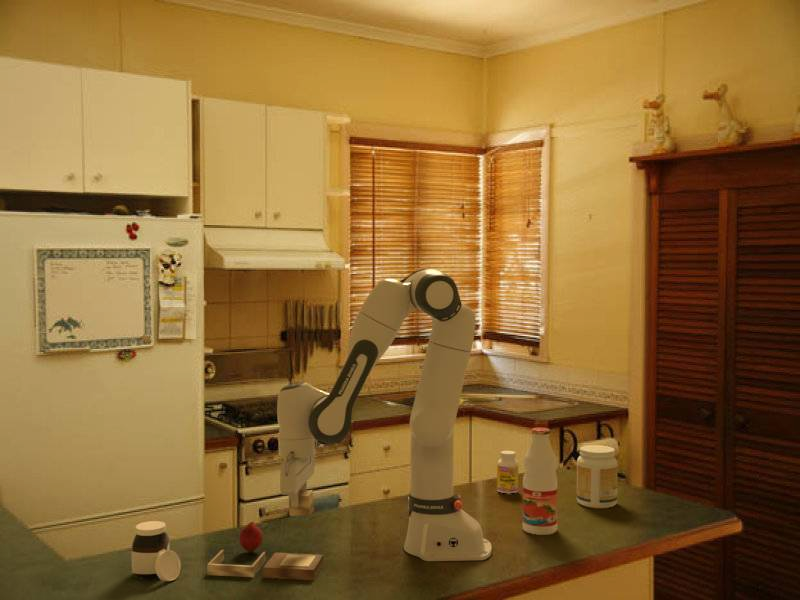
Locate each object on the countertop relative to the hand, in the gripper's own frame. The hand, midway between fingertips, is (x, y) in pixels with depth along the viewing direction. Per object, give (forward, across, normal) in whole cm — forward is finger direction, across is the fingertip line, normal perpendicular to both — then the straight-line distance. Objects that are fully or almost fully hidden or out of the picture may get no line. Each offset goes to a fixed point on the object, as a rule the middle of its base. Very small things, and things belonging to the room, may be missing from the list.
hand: (298, 502), depth 211 cm
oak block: (+3, 0, -1) cm, 3 cm away
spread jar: (+13, -17, +30) cm, 37 cm away
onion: (+13, +1, +13) cm, 19 cm away
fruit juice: (+16, +29, -60) cm, 68 cm away
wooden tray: (+13, -10, +6) cm, 18 cm away
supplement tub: (+17, +57, -78) cm, 98 cm away
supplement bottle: (+16, +66, -51) cm, 85 cm away
